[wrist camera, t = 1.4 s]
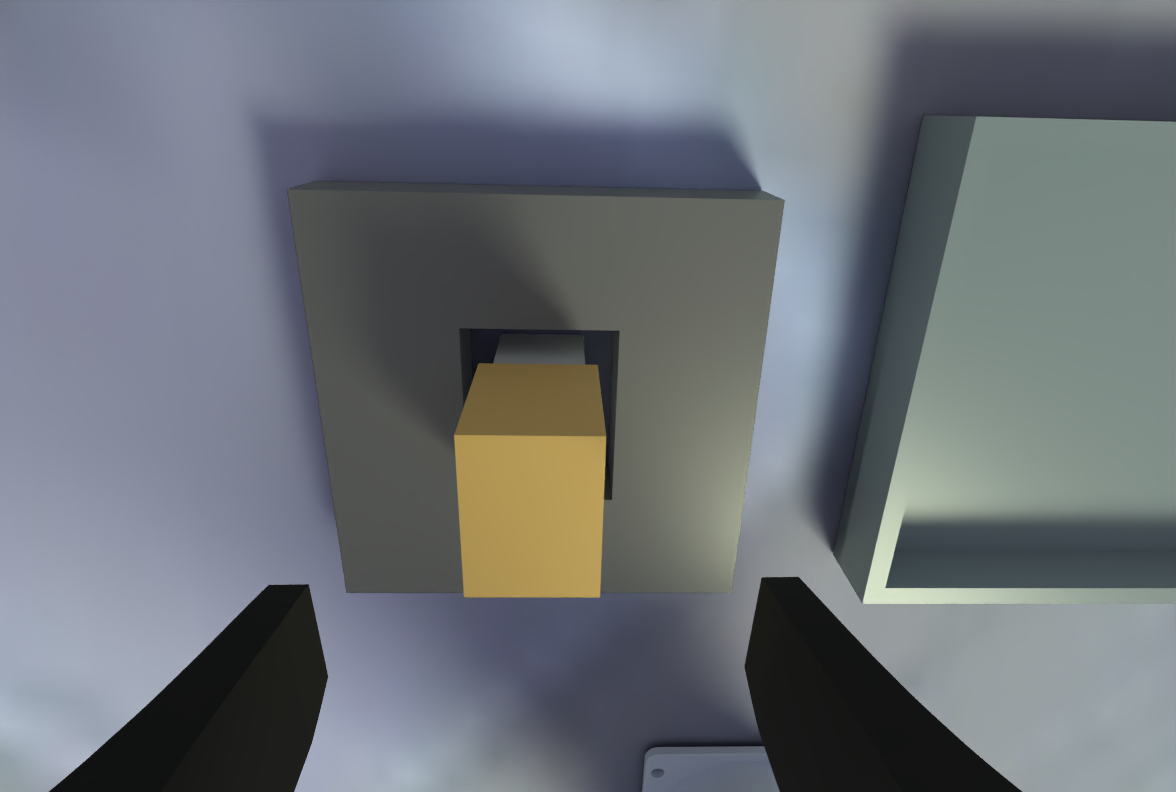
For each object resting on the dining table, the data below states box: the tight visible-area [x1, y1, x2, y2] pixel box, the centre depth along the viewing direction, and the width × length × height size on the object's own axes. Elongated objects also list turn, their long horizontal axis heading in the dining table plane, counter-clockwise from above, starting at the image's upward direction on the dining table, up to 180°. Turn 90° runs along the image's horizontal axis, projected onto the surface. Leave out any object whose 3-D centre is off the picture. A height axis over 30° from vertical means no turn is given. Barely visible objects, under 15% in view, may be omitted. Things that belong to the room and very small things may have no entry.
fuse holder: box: [287, 181, 785, 593], centre depth 20 cm, size 12×12×2 cm
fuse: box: [454, 334, 606, 597], centre depth 17 cm, size 4×3×7 cm
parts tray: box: [833, 115, 1176, 604], centre depth 20 cm, size 14×16×2 cm
